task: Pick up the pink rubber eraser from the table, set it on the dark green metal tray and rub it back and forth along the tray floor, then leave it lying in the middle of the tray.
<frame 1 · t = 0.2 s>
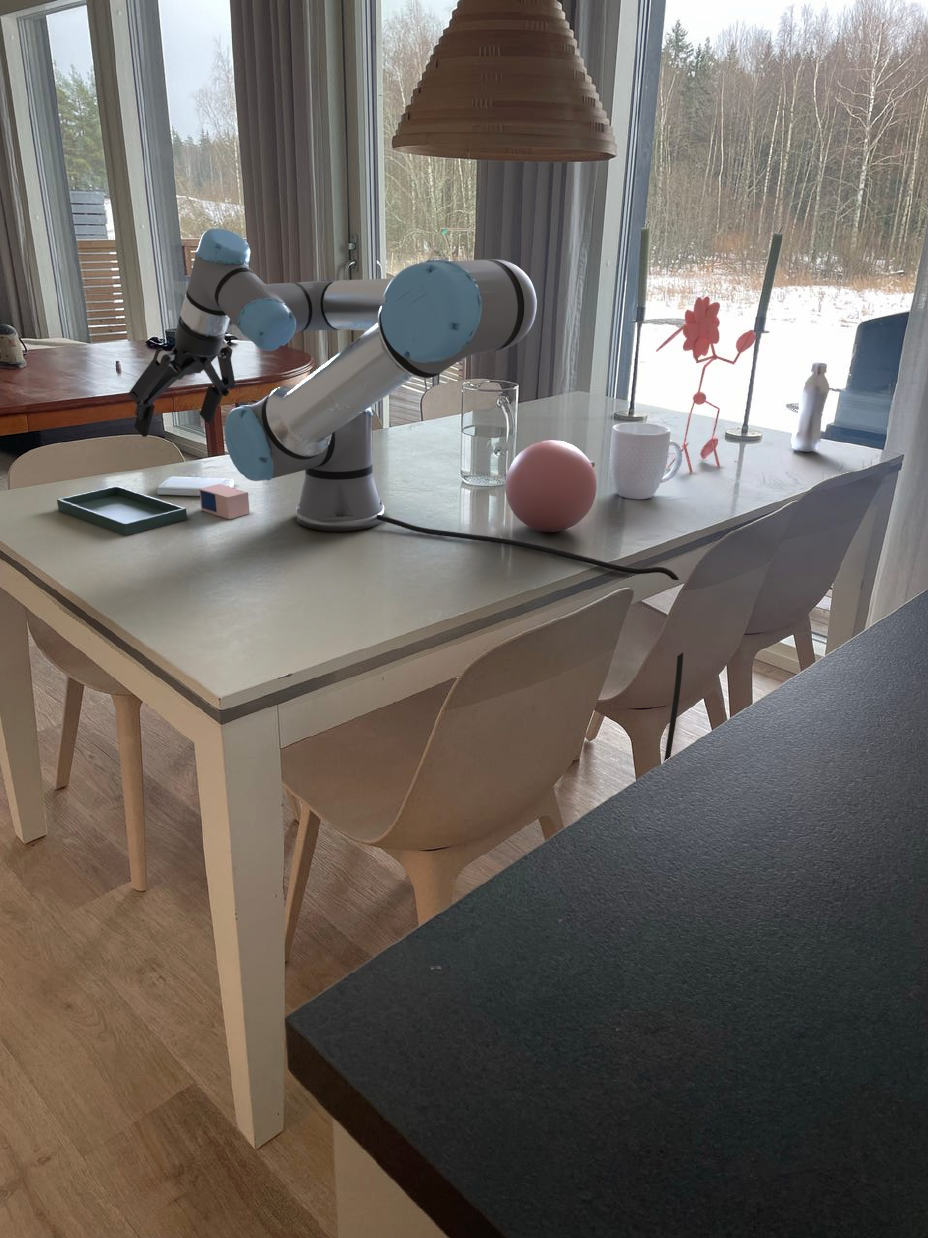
hand: (174, 425, 164), 14 cm above the table, tool tilted 30°, fingers open, 13 cm apart
balloon: (556, 527, 162), on the table
figurine: (681, 464, 205), on the table
plastic bottle: (803, 451, 218), on the table
eraser: (225, 512, 166), on the table
mug: (639, 495, 182), on the table
tray: (122, 514, 163), on the table
hard drive: (196, 491, 178), on the table
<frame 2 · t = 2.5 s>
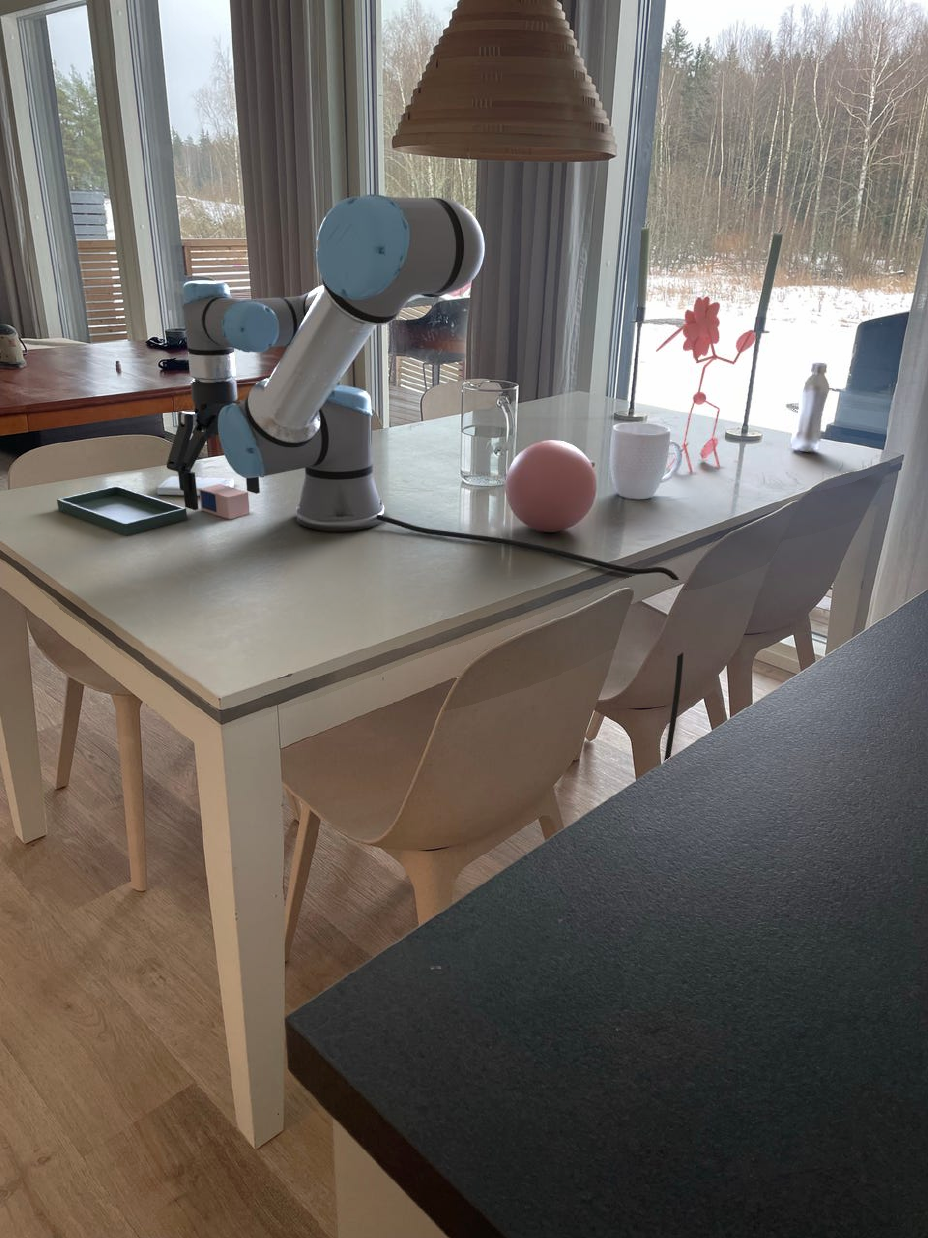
hand: (223, 500, 165), 2 cm above the table, tool pointing down, fingers open, 13 cm apart
nothing on the table moved.
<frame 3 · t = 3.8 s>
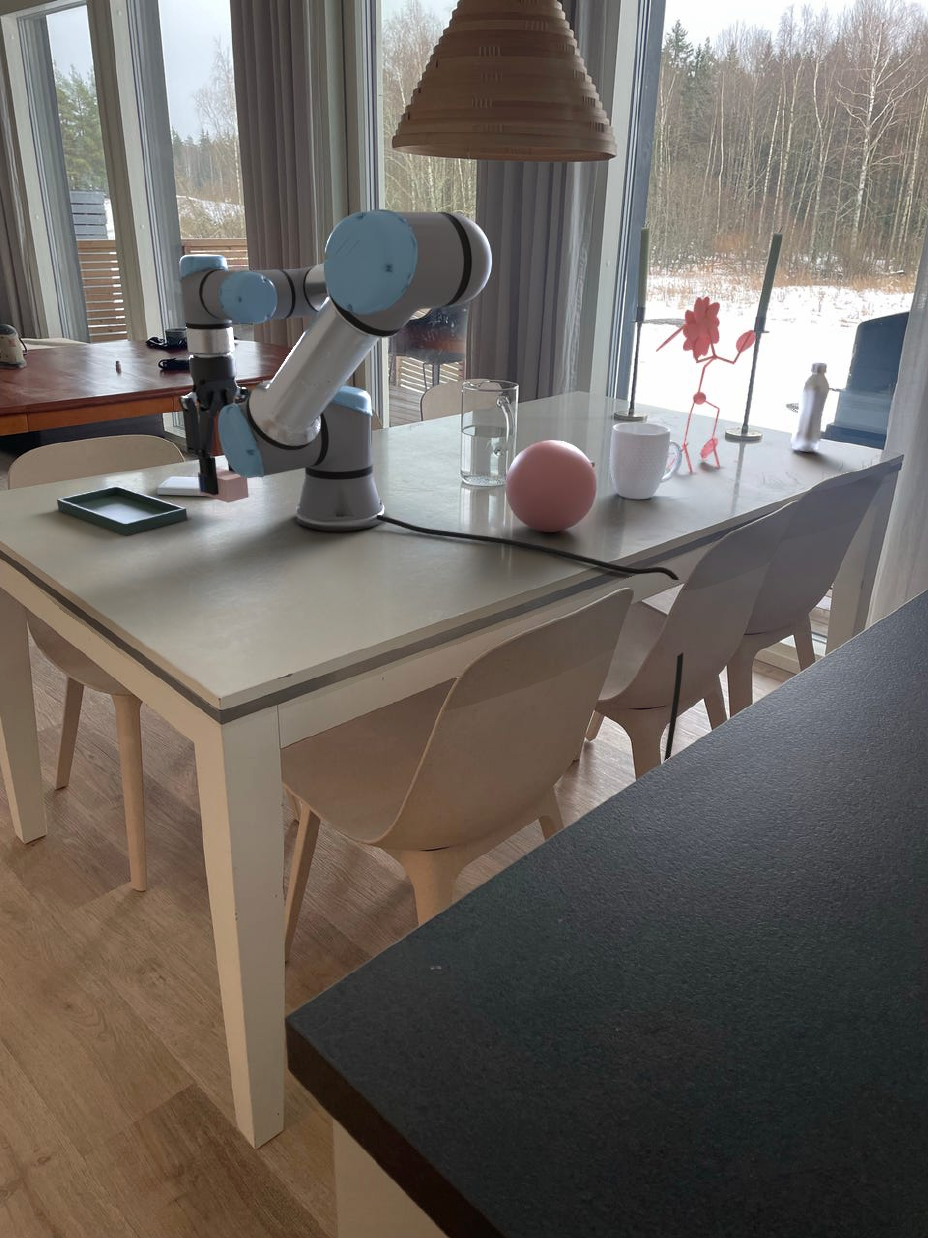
hand: (224, 489, 164), 4 cm above the table, tool pointing down, fingers closed on eraser, 5 cm apart
eraser: (224, 495, 165), point 3 cm above the table, touching gripper
everything else where it was.
when the fingers open (2 cm above the table, at t = 15.8 s): eraser stays where it is, resting on tray.
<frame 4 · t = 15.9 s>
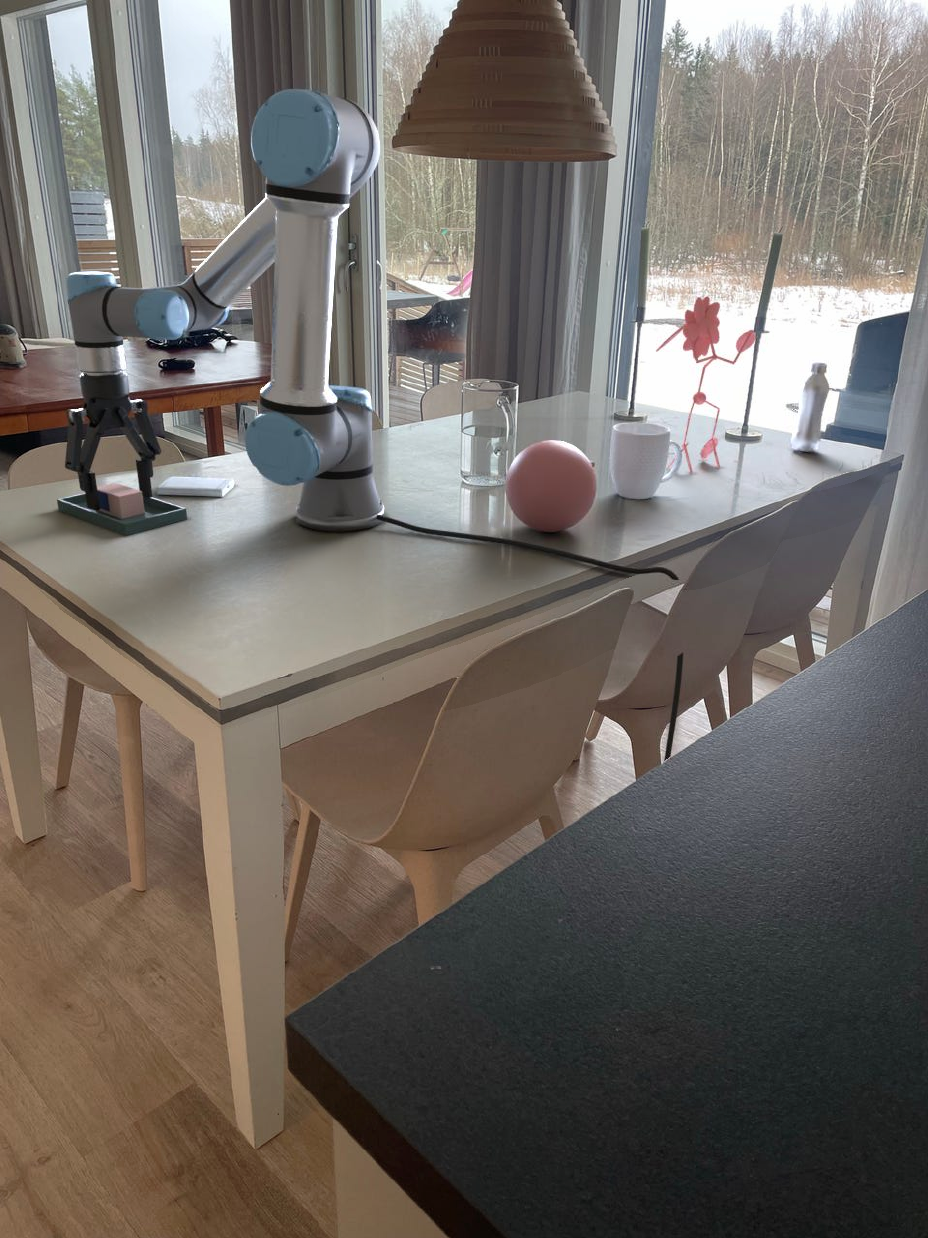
hand: (120, 502, 163), 2 cm above the table, tool pointing down, fingers open, 10 cm apart
eraser: (120, 511, 163), resting on tray
everything else where it was.
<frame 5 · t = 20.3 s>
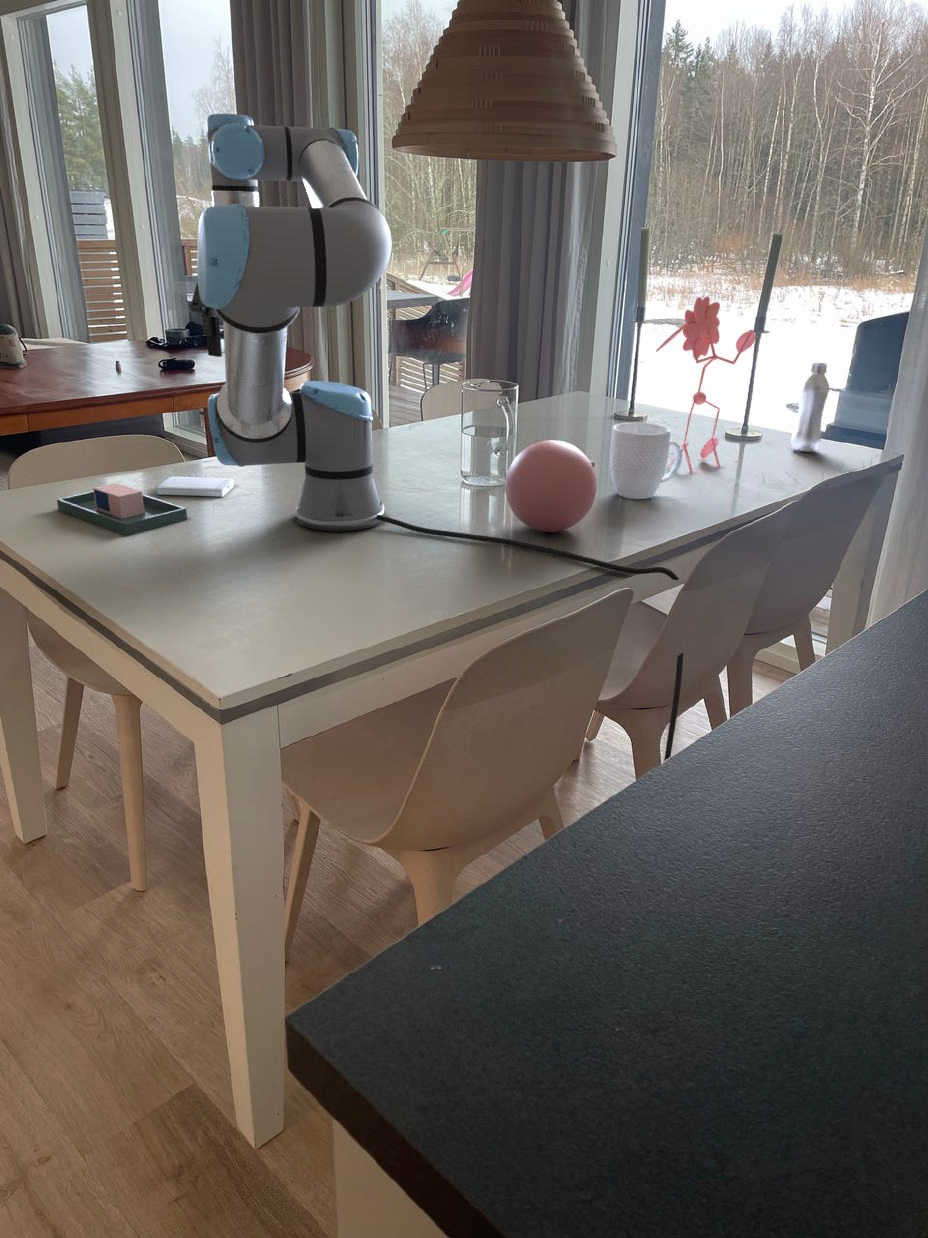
hand: (246, 352, 163), 27 cm above the table, tool pointing down, fingers open, 13 cm apart
nothing on the table moved.
at the end: eraser inside the target area in the tray (0.4 cm from its centre), point 0.5 cm above the tray's base; the gripper is holding nothing; eraser moved 18.0 cm from its start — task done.
